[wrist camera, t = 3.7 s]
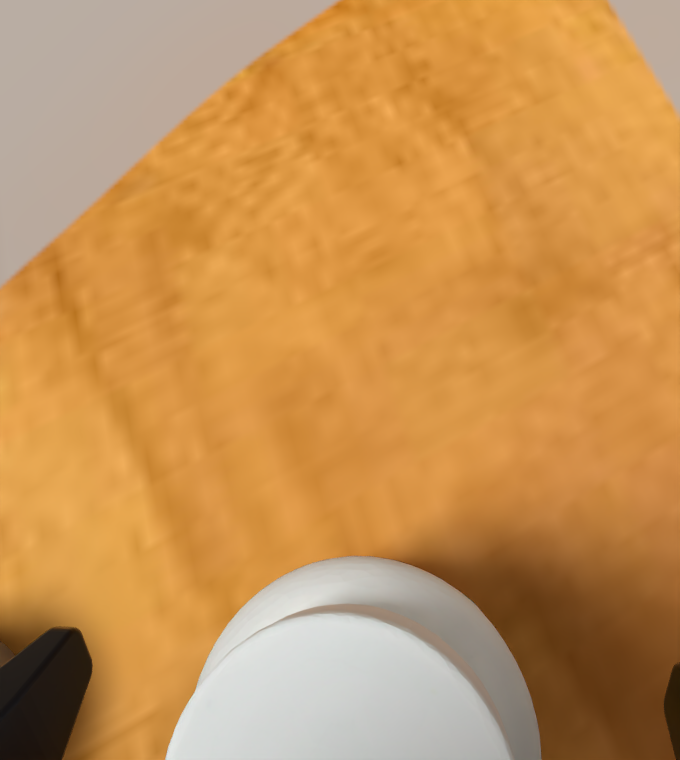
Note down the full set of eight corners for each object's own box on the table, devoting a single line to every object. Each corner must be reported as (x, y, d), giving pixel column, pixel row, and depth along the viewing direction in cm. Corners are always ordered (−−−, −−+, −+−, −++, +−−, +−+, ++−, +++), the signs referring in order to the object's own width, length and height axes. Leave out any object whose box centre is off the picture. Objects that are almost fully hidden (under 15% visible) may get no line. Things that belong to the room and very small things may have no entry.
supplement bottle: (241, 676, 16) (-7, 818, 7) (371, 519, 16) (309, 454, 7) (399, 845, 14) (356, 1337, 5) (535, 661, 15) (709, 799, 6)
